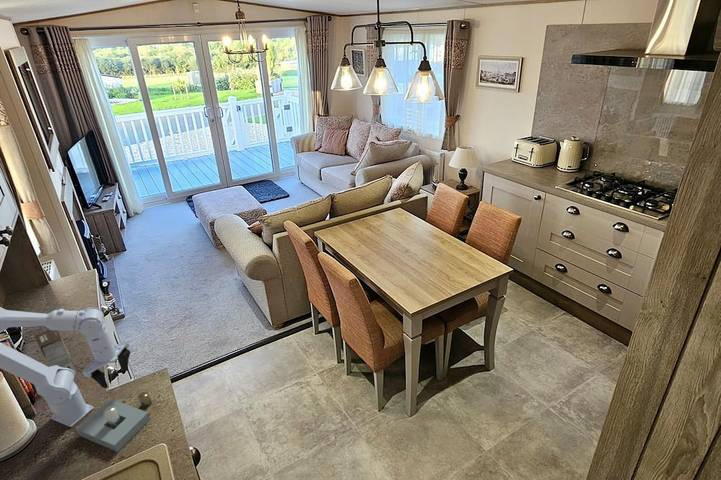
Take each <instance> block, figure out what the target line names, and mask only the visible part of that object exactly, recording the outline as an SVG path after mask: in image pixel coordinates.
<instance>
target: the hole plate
mask: <svg viewBox="0 0 721 480" xmlns="http://www.w3.org/2000/svg"><path fill="white" fill-rule="evenodd" d="M109 406H115V408H116V410H117V413H118V415H119V417H120V420H121V423H120V424H119V425H118V426H117V427H116V428H115V429H111V427H110V425H109V423H108V421H107V419H106V416H105V414H104V410H105V409H106V408H107V407H109ZM151 419H152V418H151V416H150V414H149V412H148V411H145V410H142V409H139V408H137V407H134V406H131V405H129V404H127V403H124V402H121V401H118V400H115V399H113V398H110V399H109V400H108V401H107V402H105V403H104V404H103V405H101V407H99V409H97V410H96V411H95V412H94V413H93V414H91V416H89V417H87V419H85V420H84V421H83V422H82V423H81V424H80V425H79V426H77V427H76V428H75V430H76V432H77V434H78V435H79V436H80V437H82V438H84V439H86V440H88V441H91V442H94V443H95V444H97V445H100V446H102V447H104V448H107V449H110V450H111V451H114V452H116V453H118V452H120V451H121V450H122V448H123V447H125V446H126V445H127V444H128V443H129V442H130V441H131V440H132V439H133V438H134V437H135V436H136V434H138V433H139V432H140V431H141V430H142V429H143V428H144V427H145V425H147V424H148V423H149V422H150V421H151Z"/></svg>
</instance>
